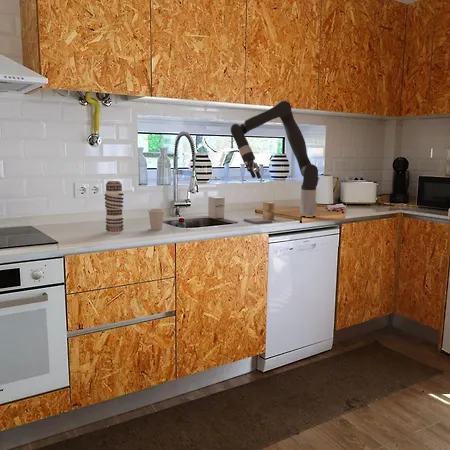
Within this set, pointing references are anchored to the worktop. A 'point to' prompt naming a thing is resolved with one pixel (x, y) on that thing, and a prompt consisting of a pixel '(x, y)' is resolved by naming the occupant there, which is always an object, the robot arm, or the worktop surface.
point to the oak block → (268, 210)
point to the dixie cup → (156, 218)
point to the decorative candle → (114, 207)
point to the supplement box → (216, 207)
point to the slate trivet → (258, 220)
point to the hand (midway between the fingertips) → (257, 177)
